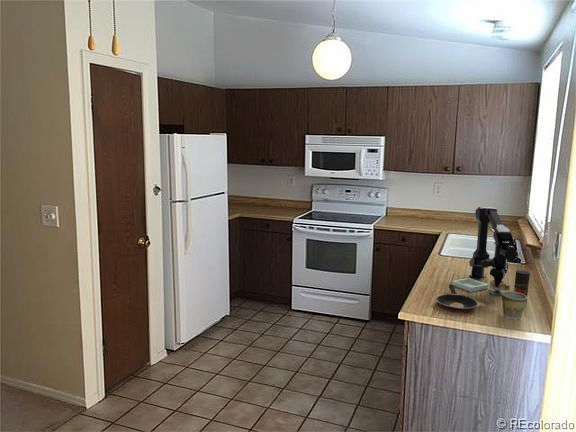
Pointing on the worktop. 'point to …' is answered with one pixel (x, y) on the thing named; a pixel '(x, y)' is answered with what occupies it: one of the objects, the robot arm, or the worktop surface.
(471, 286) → the tray
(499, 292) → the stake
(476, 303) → the frying pan
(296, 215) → the worktop surface
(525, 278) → the deodorant
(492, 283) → the ring
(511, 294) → the ceramic cup
